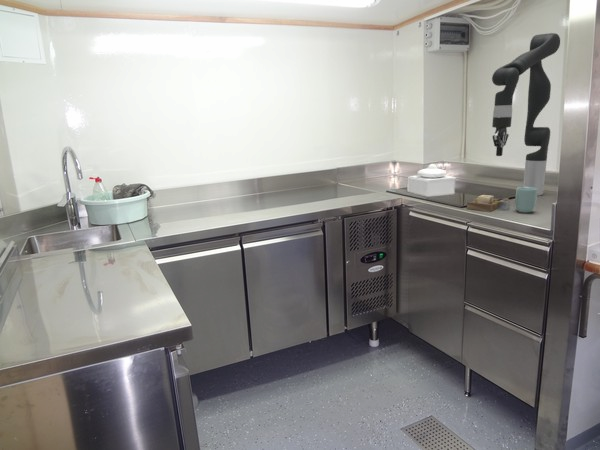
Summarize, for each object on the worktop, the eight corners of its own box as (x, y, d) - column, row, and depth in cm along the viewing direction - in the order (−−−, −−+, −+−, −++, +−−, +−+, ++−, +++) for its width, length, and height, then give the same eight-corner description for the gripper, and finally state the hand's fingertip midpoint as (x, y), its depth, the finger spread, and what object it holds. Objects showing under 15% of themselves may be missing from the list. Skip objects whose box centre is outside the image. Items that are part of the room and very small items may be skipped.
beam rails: (486, 201, 204) (486, 194, 203) (508, 203, 197) (509, 196, 196) (466, 209, 189) (467, 201, 188) (490, 211, 182) (490, 204, 181)
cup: (537, 214, 176) (540, 189, 173) (517, 213, 177) (519, 189, 175) (531, 210, 183) (534, 186, 181) (512, 209, 185) (514, 186, 182)
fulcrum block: (501, 208, 188) (502, 200, 188) (508, 208, 186) (509, 201, 186) (498, 209, 186) (498, 201, 185) (505, 210, 184) (506, 202, 183)
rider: (481, 205, 194) (482, 194, 192) (492, 207, 190) (493, 196, 189) (476, 207, 190) (477, 196, 189) (488, 209, 187) (489, 197, 186)
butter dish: (407, 192, 235) (408, 163, 231) (434, 189, 241) (435, 161, 237) (426, 197, 219) (428, 166, 215) (455, 194, 225) (457, 163, 221)
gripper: (499, 116, 196) (496, 154, 200) (487, 116, 187) (484, 156, 191) (516, 115, 190) (513, 155, 195) (505, 116, 181) (502, 157, 186)
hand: (499, 155), depth 193 cm, fingers closed
